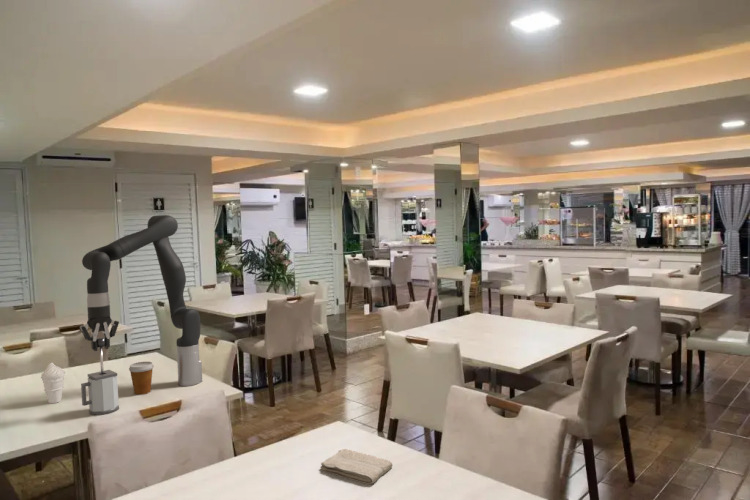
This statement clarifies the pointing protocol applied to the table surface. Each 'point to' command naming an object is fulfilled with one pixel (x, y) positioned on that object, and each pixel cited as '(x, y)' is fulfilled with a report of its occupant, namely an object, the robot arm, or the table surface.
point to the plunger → (101, 343)
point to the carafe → (101, 393)
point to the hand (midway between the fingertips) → (100, 349)
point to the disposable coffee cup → (141, 377)
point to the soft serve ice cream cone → (53, 382)
